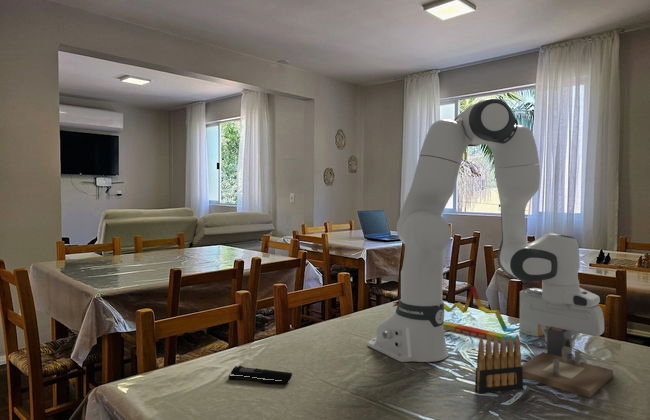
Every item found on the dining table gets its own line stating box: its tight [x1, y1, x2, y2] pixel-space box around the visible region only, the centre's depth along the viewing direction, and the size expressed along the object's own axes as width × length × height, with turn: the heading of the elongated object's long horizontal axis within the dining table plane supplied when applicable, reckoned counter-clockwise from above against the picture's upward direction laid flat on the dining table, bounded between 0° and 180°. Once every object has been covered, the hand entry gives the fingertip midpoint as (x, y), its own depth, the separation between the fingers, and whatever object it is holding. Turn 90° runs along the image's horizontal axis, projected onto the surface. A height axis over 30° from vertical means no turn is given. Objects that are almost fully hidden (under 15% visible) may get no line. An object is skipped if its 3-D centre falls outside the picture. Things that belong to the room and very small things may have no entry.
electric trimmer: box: [228, 365, 293, 384], centre depth 104 cm, size 4×16×3 cm, turn 74°
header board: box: [521, 348, 614, 399], centre depth 105 cm, size 16×16×5 cm
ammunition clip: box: [474, 334, 524, 395], centre depth 98 cm, size 11×2×12 cm, turn 101°
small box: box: [518, 287, 551, 338], centre depth 137 cm, size 8×6×13 cm
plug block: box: [546, 327, 573, 357], centre depth 119 cm, size 4×6×7 cm, turn 132°
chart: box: [443, 285, 517, 345], centre depth 138 cm, size 30×3×15 cm, turn 46°
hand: (559, 344), depth 119 cm, fingers closed on plug block, 4 cm apart
